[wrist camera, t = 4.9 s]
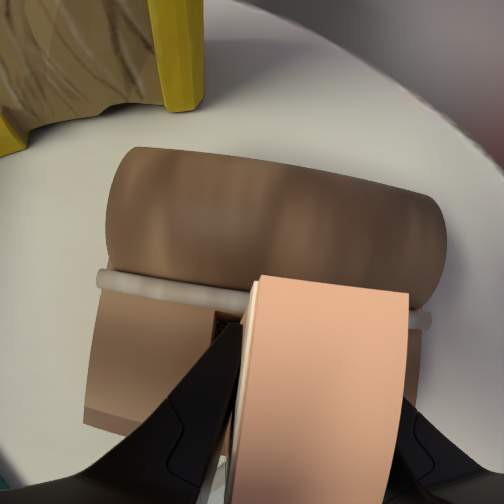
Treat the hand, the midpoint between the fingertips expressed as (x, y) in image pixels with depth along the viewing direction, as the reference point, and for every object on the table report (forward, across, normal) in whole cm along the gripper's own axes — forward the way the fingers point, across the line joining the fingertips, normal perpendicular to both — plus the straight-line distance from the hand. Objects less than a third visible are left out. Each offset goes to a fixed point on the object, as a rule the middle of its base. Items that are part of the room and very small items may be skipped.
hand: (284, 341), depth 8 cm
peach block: (+4, 0, +6) cm, 7 cm away
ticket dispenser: (+6, 0, +4) cm, 8 cm away
